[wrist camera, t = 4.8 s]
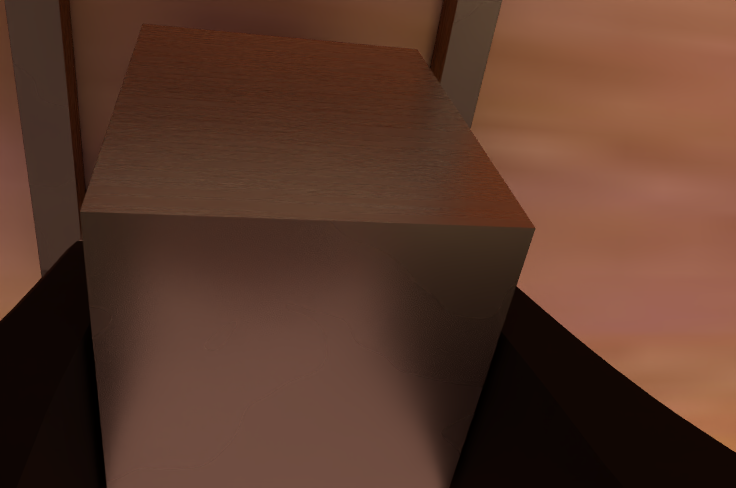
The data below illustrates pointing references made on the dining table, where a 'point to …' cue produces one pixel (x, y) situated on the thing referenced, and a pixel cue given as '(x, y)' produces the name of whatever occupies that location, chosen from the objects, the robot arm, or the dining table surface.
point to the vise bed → (61, 114)
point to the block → (291, 266)
